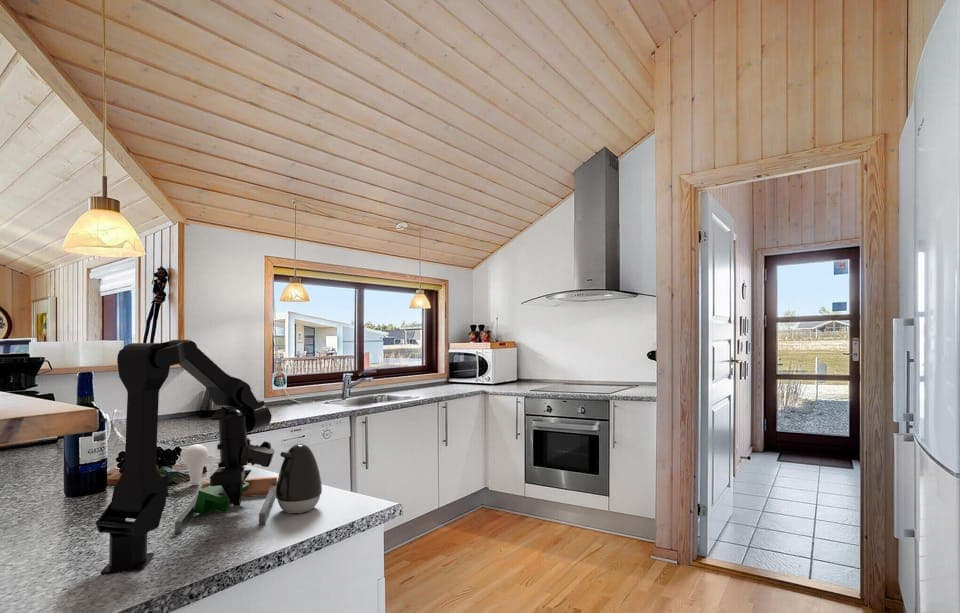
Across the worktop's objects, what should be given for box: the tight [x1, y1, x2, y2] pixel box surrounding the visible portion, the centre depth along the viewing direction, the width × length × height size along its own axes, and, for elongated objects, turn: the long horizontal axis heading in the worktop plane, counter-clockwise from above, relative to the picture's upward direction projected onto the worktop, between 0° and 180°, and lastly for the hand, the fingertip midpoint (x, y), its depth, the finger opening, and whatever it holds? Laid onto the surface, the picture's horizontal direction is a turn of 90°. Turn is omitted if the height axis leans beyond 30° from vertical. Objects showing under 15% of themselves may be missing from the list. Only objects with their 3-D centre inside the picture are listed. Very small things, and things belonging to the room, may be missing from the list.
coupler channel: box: [174, 476, 278, 535], centre depth 124 cm, size 24×17×4 cm
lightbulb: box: [182, 443, 209, 486], centre depth 144 cm, size 6×6×11 cm
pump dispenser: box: [275, 443, 323, 515], centre depth 124 cm, size 10×10×15 cm
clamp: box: [194, 481, 249, 516], centre depth 125 cm, size 12×6×9 cm, turn 165°
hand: (236, 505), depth 121 cm, fingers closed
